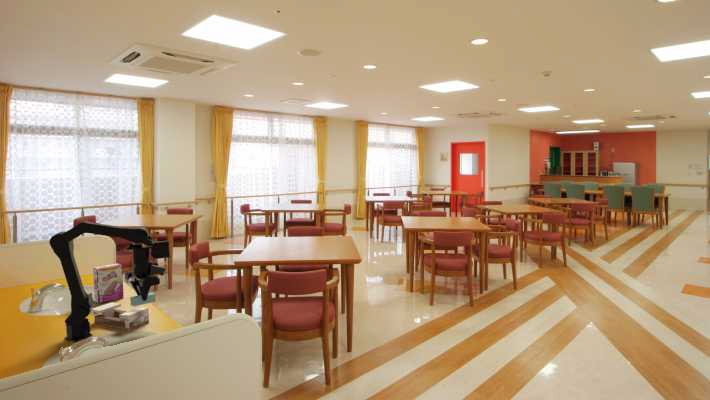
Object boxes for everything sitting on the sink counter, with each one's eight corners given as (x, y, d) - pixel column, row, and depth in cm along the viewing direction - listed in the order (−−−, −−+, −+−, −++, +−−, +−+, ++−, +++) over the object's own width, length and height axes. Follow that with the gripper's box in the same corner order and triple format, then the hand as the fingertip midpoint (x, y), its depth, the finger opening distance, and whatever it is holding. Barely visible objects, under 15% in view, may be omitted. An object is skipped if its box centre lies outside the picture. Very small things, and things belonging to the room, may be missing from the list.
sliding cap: (100, 321, 166) (100, 310, 166) (91, 319, 169) (90, 309, 168) (121, 314, 175) (120, 303, 174) (112, 312, 177) (111, 302, 176)
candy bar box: (98, 304, 192) (96, 269, 190) (94, 302, 195) (92, 267, 193) (124, 298, 200) (122, 264, 199) (120, 296, 203) (118, 262, 202)
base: (129, 330, 160) (128, 315, 160) (94, 323, 168) (93, 308, 168) (149, 322, 168) (148, 308, 168) (115, 315, 176) (114, 301, 176)
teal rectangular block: (133, 306, 158) (133, 298, 158) (130, 304, 160) (130, 297, 160) (155, 301, 164) (155, 294, 164) (152, 299, 166) (151, 292, 166)
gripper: (173, 260, 160) (174, 300, 161) (152, 253, 173) (154, 290, 174) (142, 265, 152) (144, 307, 153) (123, 257, 164) (125, 296, 166)
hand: (142, 299), depth 162 cm, fingers closed on teal rectangular block, 3 cm apart
